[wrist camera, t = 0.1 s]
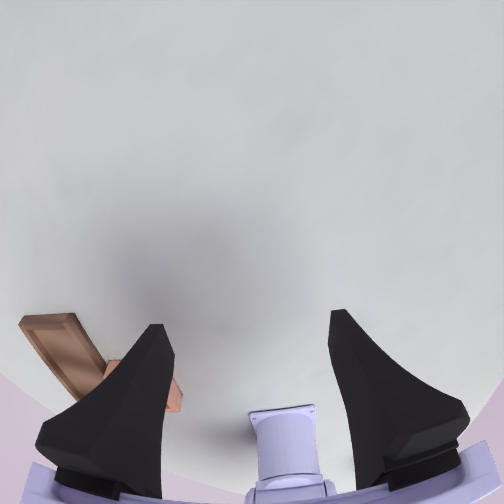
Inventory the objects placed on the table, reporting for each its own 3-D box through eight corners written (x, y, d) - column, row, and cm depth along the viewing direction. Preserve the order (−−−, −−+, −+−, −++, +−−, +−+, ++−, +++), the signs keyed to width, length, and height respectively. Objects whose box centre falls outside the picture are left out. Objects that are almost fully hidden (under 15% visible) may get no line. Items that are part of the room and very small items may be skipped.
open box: (182, 394, 31) (179, 412, 29) (133, 394, 32) (129, 410, 29) (162, 359, 28) (158, 378, 26) (109, 360, 28) (103, 377, 26)
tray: (130, 397, 32) (128, 407, 31) (81, 394, 33) (78, 402, 31) (74, 312, 25) (68, 323, 24) (24, 315, 26) (17, 324, 24)
